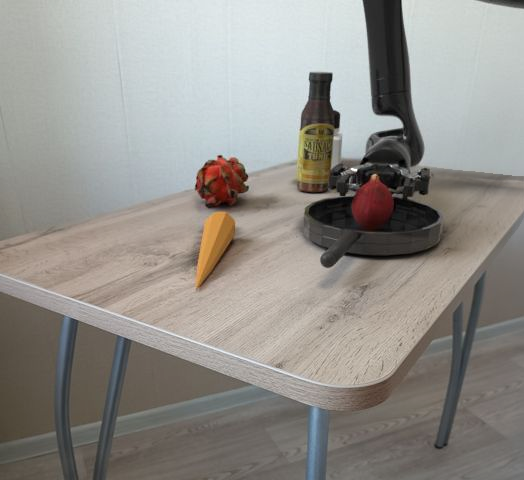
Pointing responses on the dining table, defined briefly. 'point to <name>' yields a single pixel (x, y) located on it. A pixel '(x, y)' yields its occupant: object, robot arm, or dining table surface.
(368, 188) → the onion
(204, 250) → the carrot
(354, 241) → the pan handle
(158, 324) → the dining table surface
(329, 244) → the pan
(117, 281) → the dining table surface
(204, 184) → the dragon fruit
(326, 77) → the sauce bottle
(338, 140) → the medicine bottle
